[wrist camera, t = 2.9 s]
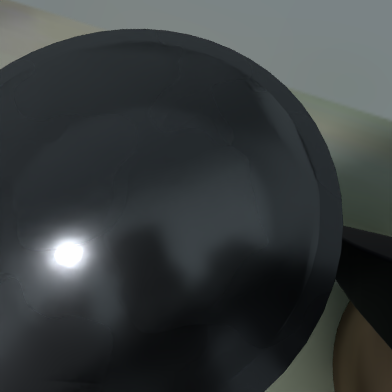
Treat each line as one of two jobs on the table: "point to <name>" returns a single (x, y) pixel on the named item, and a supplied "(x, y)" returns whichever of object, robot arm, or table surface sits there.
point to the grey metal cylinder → (158, 218)
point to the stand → (360, 356)
